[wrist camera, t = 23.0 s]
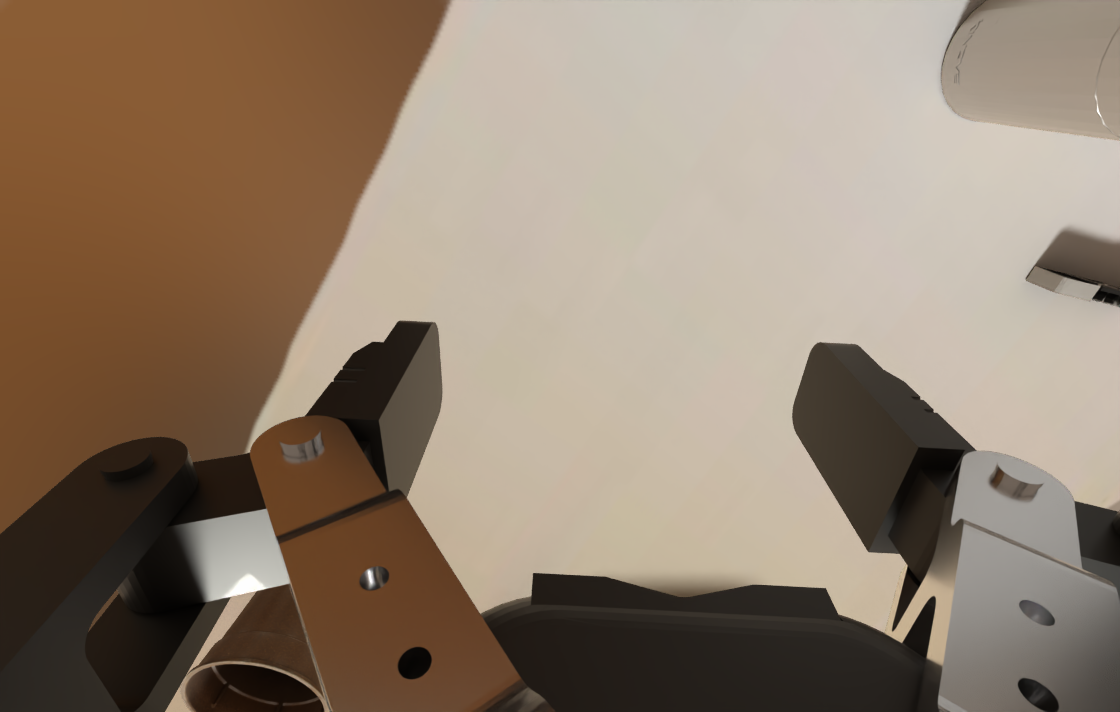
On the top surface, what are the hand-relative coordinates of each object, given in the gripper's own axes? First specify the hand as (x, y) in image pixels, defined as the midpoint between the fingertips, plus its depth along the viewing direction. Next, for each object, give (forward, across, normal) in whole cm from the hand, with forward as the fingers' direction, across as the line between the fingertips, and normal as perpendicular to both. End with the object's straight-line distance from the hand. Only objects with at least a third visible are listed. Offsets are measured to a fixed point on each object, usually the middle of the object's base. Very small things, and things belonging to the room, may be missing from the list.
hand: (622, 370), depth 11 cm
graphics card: (+39, +48, -10) cm, 63 cm away
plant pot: (+38, -33, -59) cm, 78 cm away
